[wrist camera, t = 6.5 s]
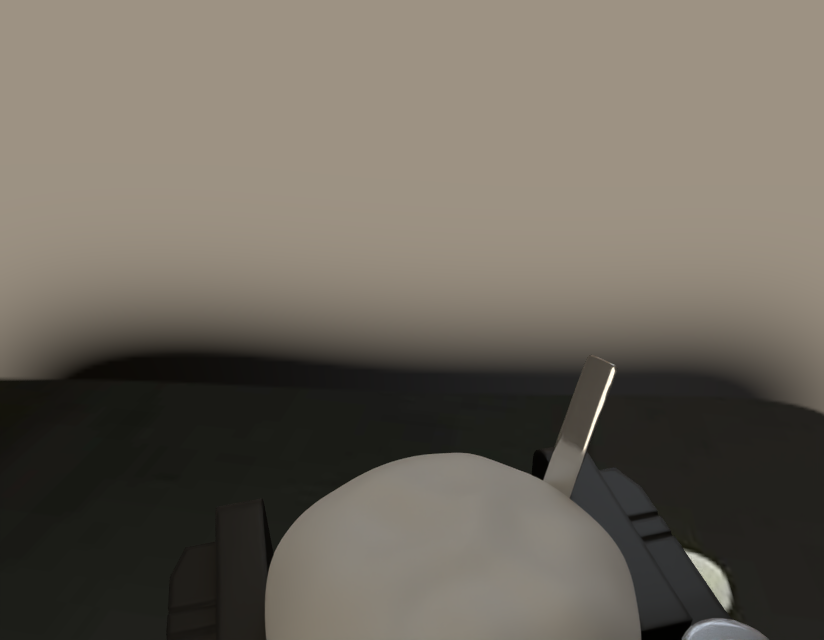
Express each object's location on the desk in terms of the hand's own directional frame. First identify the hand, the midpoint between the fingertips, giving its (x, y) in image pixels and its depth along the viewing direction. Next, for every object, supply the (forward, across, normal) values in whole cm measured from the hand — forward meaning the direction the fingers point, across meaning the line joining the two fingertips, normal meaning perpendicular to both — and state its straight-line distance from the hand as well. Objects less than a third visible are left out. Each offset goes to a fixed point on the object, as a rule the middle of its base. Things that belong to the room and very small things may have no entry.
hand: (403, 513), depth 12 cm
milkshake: (-3, 0, +7) cm, 7 cm away
